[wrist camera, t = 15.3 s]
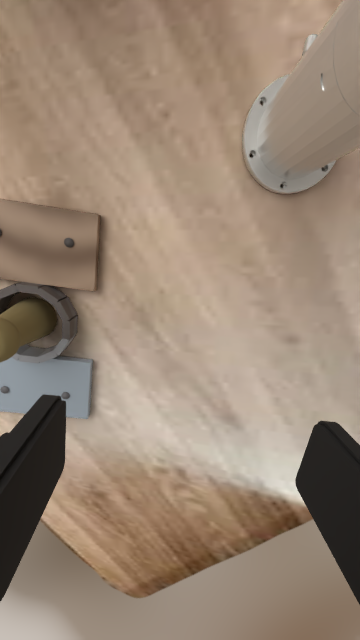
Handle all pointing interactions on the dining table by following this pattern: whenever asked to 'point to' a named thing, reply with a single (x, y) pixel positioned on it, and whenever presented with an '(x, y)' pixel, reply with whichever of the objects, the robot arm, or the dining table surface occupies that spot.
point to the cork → (25, 325)
